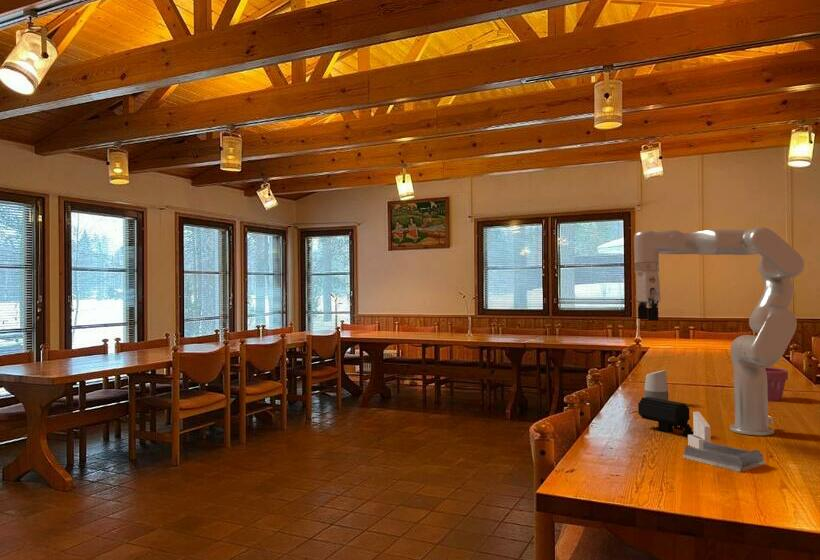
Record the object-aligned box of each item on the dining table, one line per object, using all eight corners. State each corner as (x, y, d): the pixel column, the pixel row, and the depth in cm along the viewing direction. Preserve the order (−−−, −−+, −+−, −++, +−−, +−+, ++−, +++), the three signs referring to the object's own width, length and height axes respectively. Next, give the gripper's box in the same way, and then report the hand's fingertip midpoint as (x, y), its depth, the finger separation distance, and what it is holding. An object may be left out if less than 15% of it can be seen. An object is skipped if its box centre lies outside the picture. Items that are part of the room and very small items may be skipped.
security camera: (683, 438, 186) (683, 406, 186) (637, 427, 202) (636, 398, 202) (698, 435, 189) (697, 404, 189) (651, 424, 205) (650, 396, 206)
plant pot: (796, 402, 242) (795, 371, 242) (762, 402, 242) (761, 371, 243) (775, 396, 256) (774, 366, 257) (742, 396, 257) (742, 367, 257)
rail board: (682, 457, 164) (682, 443, 165) (708, 451, 171) (707, 437, 171) (740, 472, 151) (739, 456, 151) (765, 464, 157) (764, 449, 157)
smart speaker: (647, 400, 250) (646, 367, 250) (670, 403, 244) (670, 369, 245) (641, 404, 242) (641, 370, 242) (665, 406, 237) (664, 371, 237)
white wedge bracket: (691, 433, 183) (698, 411, 178) (708, 457, 174) (716, 434, 170) (680, 433, 182) (687, 411, 178) (696, 457, 173) (704, 435, 169)
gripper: (668, 267, 187) (669, 320, 187) (649, 269, 205) (650, 318, 204) (644, 267, 188) (645, 321, 188) (627, 269, 205) (628, 318, 205)
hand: (647, 319), depth 196 cm, fingers open, 9 cm apart
